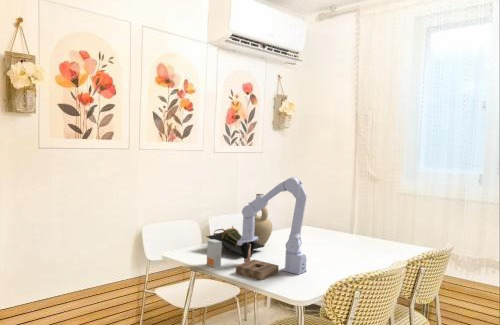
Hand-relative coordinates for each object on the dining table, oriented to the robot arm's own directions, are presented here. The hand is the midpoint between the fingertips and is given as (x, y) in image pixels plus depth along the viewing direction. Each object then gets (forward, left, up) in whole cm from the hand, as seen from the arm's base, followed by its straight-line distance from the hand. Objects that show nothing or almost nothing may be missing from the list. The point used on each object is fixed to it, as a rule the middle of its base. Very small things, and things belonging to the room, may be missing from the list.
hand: (247, 257), depth 193 cm
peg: (0, 0, -2) cm, 2 cm away
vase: (+20, -38, -4) cm, 43 cm away
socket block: (-11, +7, -4) cm, 13 cm away
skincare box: (+11, +12, -4) cm, 17 cm away
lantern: (+23, -16, -4) cm, 28 cm away
